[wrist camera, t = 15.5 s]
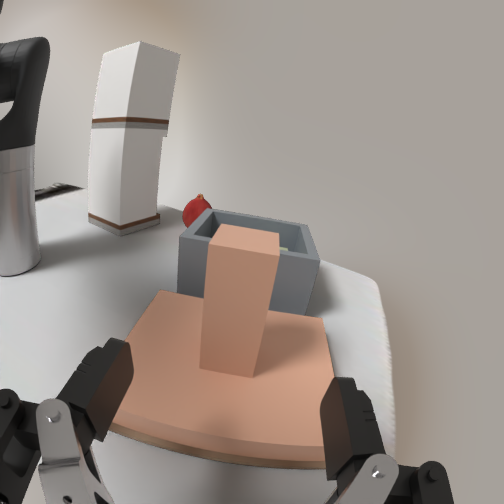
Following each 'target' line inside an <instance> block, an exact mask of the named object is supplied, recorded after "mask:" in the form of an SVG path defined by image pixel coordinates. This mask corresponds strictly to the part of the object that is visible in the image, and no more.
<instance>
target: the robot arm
mask: <svg viewBox="0 0 504 504" xmlns="http://www.w3.org/2000/svg"><path fill="white" fill-rule="evenodd" d="M3 1H4V0H0V13H1V10H2V6H3ZM49 58H50V45H49V42H48V40H47V39H46V38H44V37H35V38H29V39H23V40H18V41H13V42H9V43H0V103H4V102H9V101H14V103H13V106H12V108H11V110H10V111H9V113H8V114H7V115H6V116H5V117H4V118H3V119H2V120H0V275H2V276H10V275H16V274H20V273H23V272H25V271H28V270H30V269H31V268H33V267H34V266H35V265H37V264H38V262H39V261H40V259H41V255H40V248H39V241H38V231H37V222H36V209H35V191H34V149H35V145H34V144H35V135H36V128H37V121H38V114H39V106H40V100H41V95H42V91H43V86H44V82H45V78H46V73H47V69H48V64H49ZM133 376H134V366H133V360H132V354H131V348H130V344H129V343H128V342H125V341H122V340H118V339H115V338H110V339H109V340H108V341H107V343H106V344H105V346H104V347H103V348H102V347H99V346H97V347H96V348H94V349H93V350H91V351H90V352H88V353H87V355H86V356H85V357H84V359H83V360H82V363H80V364H79V366H78V367H77V370H76V371H74V373H73V374H72V376H71V377H70V379H69V380H68V382H67V383H66V385H65V386H64V387H63V389H62V390H61V392H60V393H59V395H58V396H57V397H56V398H55V399H47V400H45V401H43V402H41V403H40V404H37V403H32V402H27V401H22V400H20V399H19V397H18V395H17V394H16V393H15V392H14V391H13V390H11V389H1V390H0V504H22V501H23V498H24V496H25V493H26V491H27V488H28V486H29V483H30V481H31V478H32V475H33V473H34V471H35V469H36V466H37V464H38V462H39V460H40V457H41V455H42V464H39V466H38V471H39V476H40V480H41V485H42V488H43V492H44V496H45V500H46V503H47V504H115V503H114V501H113V499H112V497H111V496H110V494H109V492H108V491H107V489H106V487H105V485H104V482H103V480H102V477H101V475H100V472H99V469H98V466H97V463H96V460H95V457H94V454H93V451H92V448H91V443H92V441H93V439H96V440H99V441H101V442H103V440H104V438H105V436H106V434H107V432H108V430H109V427H110V425H111V423H112V421H113V419H114V417H115V415H116V413H117V411H118V409H119V407H120V404H121V402H122V400H123V398H124V396H125V394H126V392H127V390H128V388H129V386H130V384H131V382H132V380H133ZM373 411H374V410H373V406H372V403H371V400H370V399H369V397H368V396H367V395H366V393H365V392H364V391H363V390H357V387H356V384H355V381H354V379H353V378H348V377H334V378H333V379H332V381H331V383H330V385H329V387H328V389H327V391H326V393H325V395H324V397H323V399H322V401H321V404H320V420H321V428H322V436H323V445H324V454H325V463H326V473H327V481H330V480H337V487H336V488H335V489H334V491H333V492H332V493H331V495H330V496H329V497H328V499H327V500H326V501H325V502H324V504H454V501H453V497H452V492H451V488H450V484H449V480H448V476H447V473H446V470H445V468H444V467H443V466H442V465H441V464H440V463H438V462H435V461H428V462H426V463H424V464H423V465H421V466H420V467H410V466H403V465H398V464H397V462H396V461H395V460H394V459H393V458H392V457H390V456H388V455H386V453H385V450H384V446H383V442H382V438H381V435H380V431H379V427H378V424H377V421H376V417H375V413H373Z"/></svg>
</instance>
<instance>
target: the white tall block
mask: <svg viewBox="0 0 504 504" xmlns="http://www.w3.org/2000/svg"><path fill="white" fill-rule="evenodd" d="M179 58H180V54H177V53H175V52H172V51H169V50H166V49H163V48H160V47H157V46H154V45H151V44H148V43H144V42H141V41H140V42H136V43H133V44H130V45H127V46H124V47H121V48H118V49H115V50H112V51H110V52H106V53H104V55H103V59H102V63H101V68H100V73H99V78H98V84H97V90H96V96H95V103H94V111H93V118H92V128H91V138H90V152H89V172H88V173H89V174H88V217H89V222H90V223H92V224H94V225H96V226H98V227H101V228H103V229H105V230H107V231H109V232H112V233H114V234H116V235H118V236H123V235H126V234H129V233H132V232H135V231H138V230H141V229H144V228H148V227H151V226H154V225H157V224H160V214H158V213H156V209H157V193H158V179H159V166H160V156H161V147H162V138H163V137H167V131H168V124H169V116H170V110H171V103H172V97H173V91H174V85H175V80H176V74H177V69H178V64H179Z"/></svg>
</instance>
